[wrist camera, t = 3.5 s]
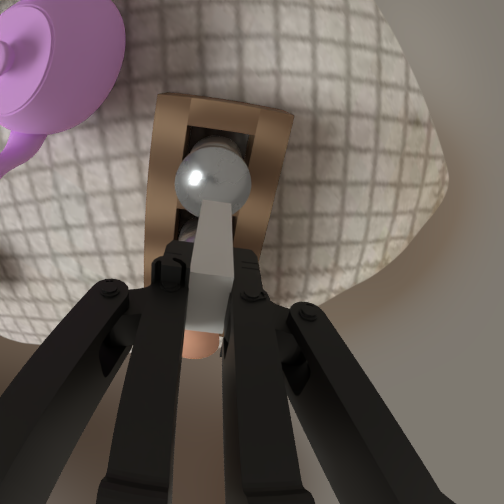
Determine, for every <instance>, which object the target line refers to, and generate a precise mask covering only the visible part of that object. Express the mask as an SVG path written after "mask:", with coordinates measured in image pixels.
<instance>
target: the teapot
mask: <svg viewBox="0 0 504 504" xmlns="http://www.w3.org/2000/svg"><path fill="white" fill-rule="evenodd" d="M125 39H126V36H125V27H124V23H123V19H122V17H121V14H120V12H119V10H118V9H117V7H116V6H115V4H114V3H113V2H112V1H111V0H20V1H19V2H17V3H15V4H14V5H12V6H11V7H9V8H8V9H7V10H5V11H4V12H3V13H2V14H1V15H0V125H2V126H3V127H5V128H7V129H9V130H11V133H10V136H9V139H8V142H7V144H6V146H5V148H4V150H3V151H2V152H1V153H0V179H1V178H2V177H3V176H4V175H5V174H6V173H7V172H9V171H10V170H12V169H14V168H15V167H17V166H19V165H21V164H23V163H25V162H26V161H28V160H29V159H30V158H32V157H33V156H34V155H35V154H36V153H37V152H38V150H39V149H40V147H41V146H42V144H43V142H44V140H45V138H46V137H47V135H49V134H54V133H59V132H62V131H65V130H68V129H71V128H73V127H75V126H76V125H78V124H80V123H81V122H83V121H84V120H86V119H87V118H88V117H89V116H91V115H92V114H93V113H94V112H95V111H96V110H97V109H98V108H99V107H100V105H101V104H102V103H103V102H104V100H105V99H106V98H107V96H108V94H109V93H110V91H111V90H112V88H113V86H114V84H115V82H116V80H117V77H118V75H119V72H120V69H121V66H122V62H123V58H124V52H125Z"/></svg>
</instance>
